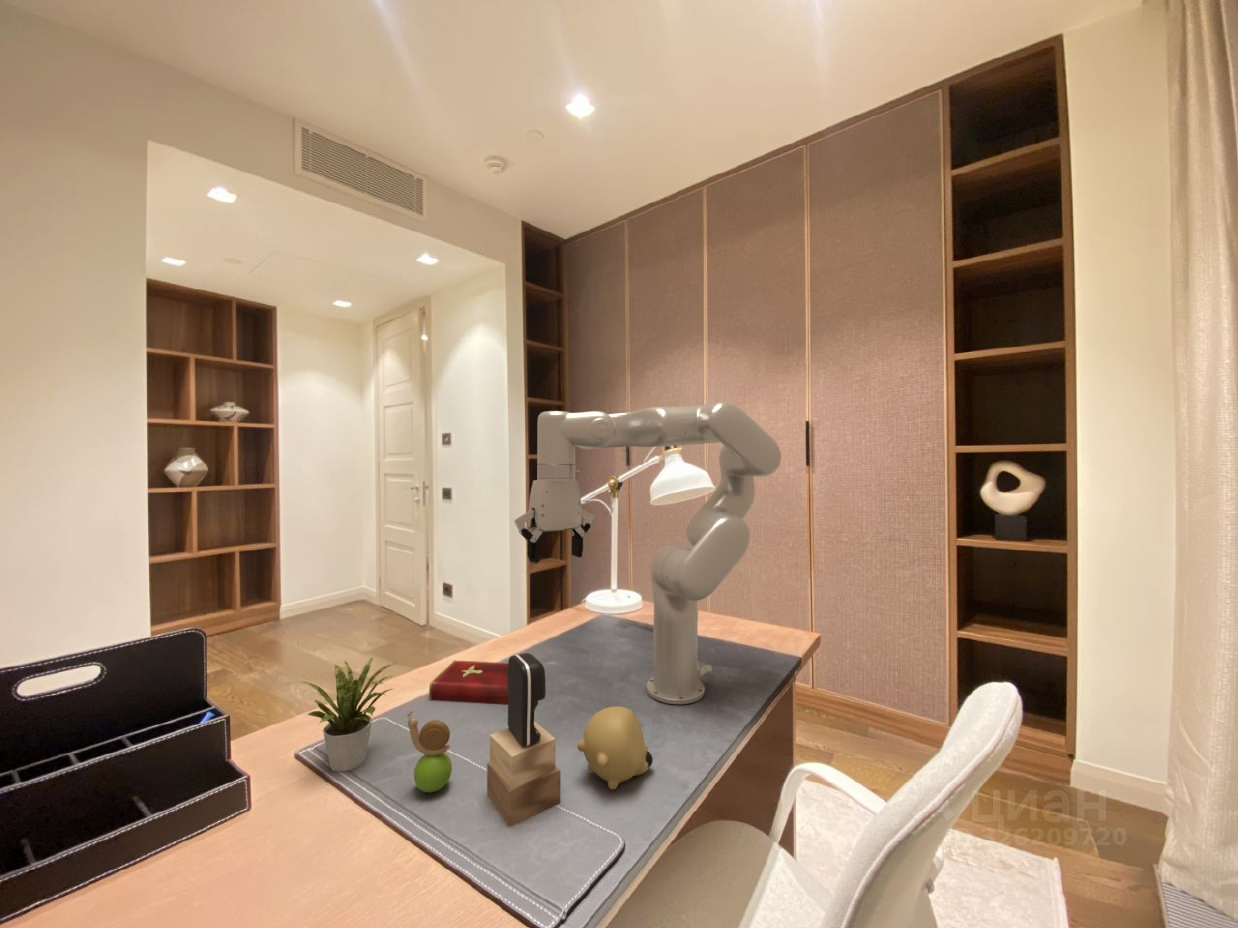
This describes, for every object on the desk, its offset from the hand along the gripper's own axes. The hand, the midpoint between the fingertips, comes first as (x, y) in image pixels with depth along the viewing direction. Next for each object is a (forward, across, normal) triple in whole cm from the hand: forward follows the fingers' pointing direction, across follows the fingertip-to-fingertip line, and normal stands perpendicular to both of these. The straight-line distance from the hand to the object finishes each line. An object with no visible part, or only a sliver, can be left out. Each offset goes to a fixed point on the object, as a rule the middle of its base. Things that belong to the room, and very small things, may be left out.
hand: (556, 558), depth 99 cm
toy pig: (+31, +2, +24) cm, 39 cm away
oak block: (+26, +16, +20) cm, 37 cm away
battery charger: (+21, +16, +20) cm, 33 cm away
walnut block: (+31, +16, +20) cm, 40 cm away
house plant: (+31, +35, -4) cm, 47 cm away
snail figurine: (+31, +27, +10) cm, 42 cm away
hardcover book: (+31, +8, -16) cm, 36 cm away
